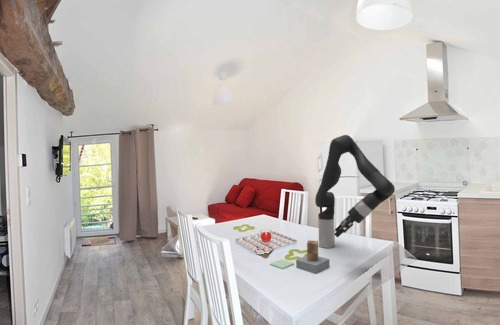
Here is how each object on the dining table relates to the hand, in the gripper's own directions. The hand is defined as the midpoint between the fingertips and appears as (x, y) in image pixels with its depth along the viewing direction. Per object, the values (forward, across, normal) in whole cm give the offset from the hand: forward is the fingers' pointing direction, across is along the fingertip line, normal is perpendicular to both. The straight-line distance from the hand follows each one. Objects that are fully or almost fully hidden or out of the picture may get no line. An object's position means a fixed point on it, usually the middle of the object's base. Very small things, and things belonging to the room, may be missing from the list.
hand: (336, 233), depth 161 cm
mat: (+32, 0, -7) cm, 33 cm away
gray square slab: (+21, 0, +4) cm, 21 cm away
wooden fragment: (+43, -20, -16) cm, 50 cm away
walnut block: (+18, 0, +2) cm, 18 cm away
